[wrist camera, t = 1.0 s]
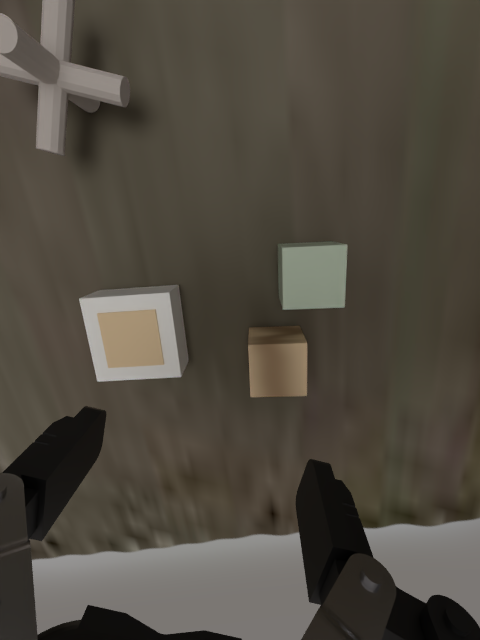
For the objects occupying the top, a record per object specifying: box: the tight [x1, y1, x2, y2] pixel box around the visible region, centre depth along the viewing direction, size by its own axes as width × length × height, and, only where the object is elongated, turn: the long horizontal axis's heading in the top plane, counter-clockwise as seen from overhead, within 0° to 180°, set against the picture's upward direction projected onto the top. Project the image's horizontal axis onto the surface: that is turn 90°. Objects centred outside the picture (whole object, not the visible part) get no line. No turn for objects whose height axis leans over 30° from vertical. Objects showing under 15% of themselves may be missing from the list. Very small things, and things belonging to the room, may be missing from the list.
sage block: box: [278, 241, 347, 310], centre depth 28 cm, size 5×5×5 cm
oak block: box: [248, 326, 307, 397], centre depth 31 cm, size 5×5×5 cm
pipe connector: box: [0, 0, 130, 156], centre depth 22 cm, size 10×10×10 cm
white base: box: [79, 285, 189, 382], centre depth 31 cm, size 8×8×4 cm
